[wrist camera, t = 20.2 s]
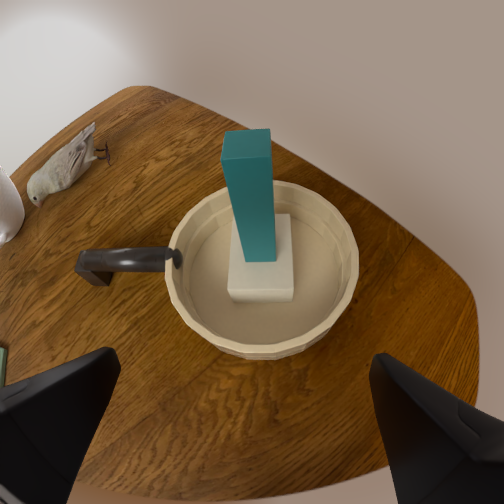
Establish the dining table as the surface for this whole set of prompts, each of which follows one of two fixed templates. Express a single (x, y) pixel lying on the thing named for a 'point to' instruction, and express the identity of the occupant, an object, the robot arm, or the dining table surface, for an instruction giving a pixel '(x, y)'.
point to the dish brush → (256, 222)
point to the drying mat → (2, 365)
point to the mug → (9, 209)
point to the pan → (264, 314)
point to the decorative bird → (64, 167)
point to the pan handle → (124, 262)
